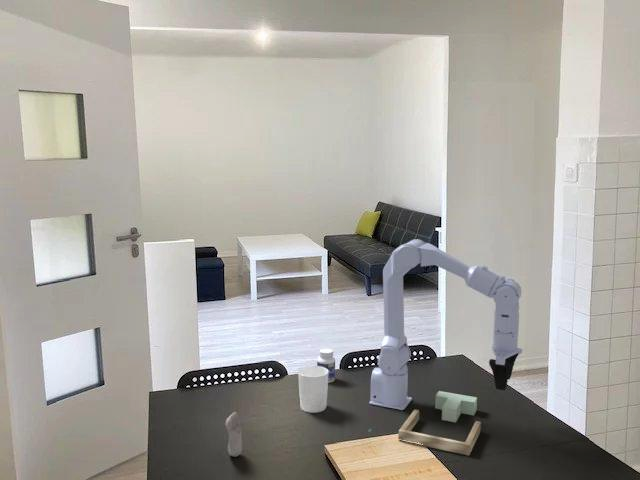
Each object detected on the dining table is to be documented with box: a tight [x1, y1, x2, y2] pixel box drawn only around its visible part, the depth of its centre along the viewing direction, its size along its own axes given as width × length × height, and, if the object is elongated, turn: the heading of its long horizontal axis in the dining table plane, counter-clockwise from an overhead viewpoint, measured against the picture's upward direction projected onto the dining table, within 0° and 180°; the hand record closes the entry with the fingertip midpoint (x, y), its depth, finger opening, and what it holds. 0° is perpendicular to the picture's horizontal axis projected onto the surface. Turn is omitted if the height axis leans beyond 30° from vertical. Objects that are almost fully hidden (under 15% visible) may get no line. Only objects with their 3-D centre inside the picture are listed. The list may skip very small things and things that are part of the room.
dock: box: [397, 409, 482, 456], centre depth 145 cm, size 16×13×2 cm
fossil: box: [225, 411, 243, 458], centre depth 136 cm, size 6×4×10 cm, turn 5°
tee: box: [434, 390, 478, 423], centre depth 157 cm, size 10×10×4 cm
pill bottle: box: [316, 348, 336, 384], centre depth 180 cm, size 5×5×9 cm
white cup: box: [297, 365, 329, 414], centre depth 160 cm, size 8×8×10 cm
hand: (503, 383), depth 151 cm, fingers open, 7 cm apart
